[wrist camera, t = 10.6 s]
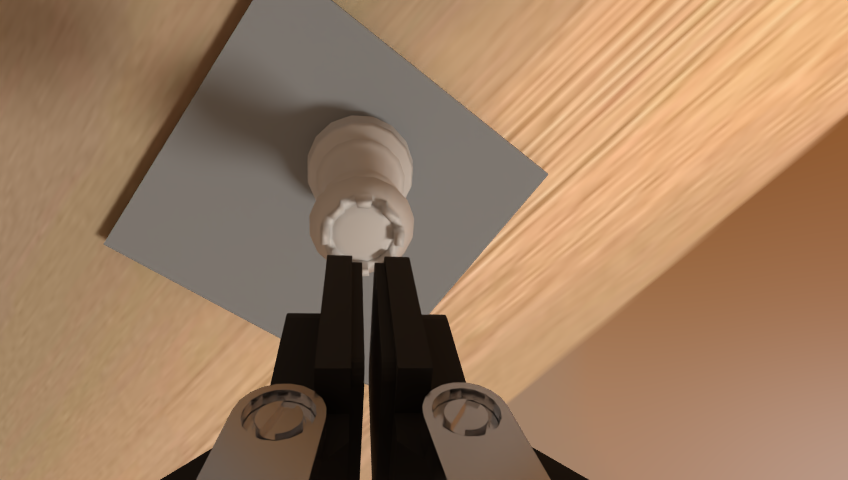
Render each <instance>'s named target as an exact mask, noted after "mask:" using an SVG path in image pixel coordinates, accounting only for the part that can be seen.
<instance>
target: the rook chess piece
mask: <svg viewBox="0 0 848 480" xmlns="http://www.w3.org/2000/svg"><path fill="white" fill-rule="evenodd" d="M412 163H413V160H412V157H411V154H410V151H409V148H408V145H407V142H406V141H405V140H404V138H403V137H402V136H401V135H400V134H399V133H398V132H397V131H396V130H395V128H394V127H393V126H391V125H389V124H387V123H385V122H383V121H381V120H379V119H377V118H375V117H371V116H354V115H351V116H348V117H345V118H342V119H340V120H337V121H334V122H331V123H330V124H329V125H328V126H327V127H326V128H325V129H324V130H323V131H321V132H320V133H319V134H318V135H317V136H316V137H315V140H314V142H313V144H312V147H311V149H310V151H309V153H308V184H309V186H310V188H311V191H312V193H313V195H314V197H315V200H316V202H315V204H314V206H313V208H312V211H311V213H310V215H309V230H310V237H311V239H312V241H313V243H314V245H315V248H316V250H317V252H318V253H319V254H320V255H321V256H322V257H324V258H325V259H326V260H327V255H350V256H352V262H362V276H369V273H371V272H374V263H383V262H384V257H385V256H388V257H401V256H402V255H403V254H404V253H405V251H406V249H407V247H408V245H409V243H410V242H411V240H412V238H413V228H414V216H413V214H412V211H411V208H410V205H409V203H408V200H407V199H406V196H407V194H408V192H409V190H410V188H411V186H412V174H413V165H412Z"/></svg>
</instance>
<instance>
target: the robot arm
mask: <svg viewBox="0 0 848 480" xmlns="http://www.w3.org/2000/svg"><path fill="white" fill-rule="evenodd" d="M364 375H365V354H364V315H363V277H362V262H352V256H350V255H327V261H326V270H325V279H324V287H323V296H322V305H321V313H287V315H286V318H285V323H284V327H283V331H282V336H281V340H280V345H279V349H278V354H277V358H276V363H275V367H274V372H273V376H272V381H271V385H270V386H265V387H262V388H259V389H257V390H255V391H252V392H250V393H249V394H247V395H246V396H245V397H243V398H242V399H241V400H239V402H238V403H237V404H236V406H235V407H234V408H233V410H232V411H231V413H230V415H229V417H228V419H227V421H226V423H225V425H224V427H223V429H222V431H221V433H220V435H219V437H218V438H217V440H216V442H215V444H214V446H213V448H212V449H210V450H209V451H207V452H205V453H204V454H202V455H200V456H199V457H197V458H195V459H194V460H192V461H190V462H189V463H187V464H186V465H184V466H182V467H181V468H179V469H177V470H176V471H174V472H172V473H171V474H169V475H167V476H166V477H164V478H162V479H161V480H360V460H361V439H362V419H363V399H364ZM369 407H370V436H371V465H372V480H588V479H586V478H585V477H583V476H581V475H579V474H578V473H576V472H574V471H573V470H571V469H569V468H567V467H566V466H564V465H562V464H560V463H559V462H557V461H555V460H553V459H552V458H550V457H548V456H546V455H545V454H543V453H541V452H540V451H538V450H536V449H534V448H532V447H531V445H530V443H529V442H528V440H527V438H526V437H525V435H524V433H523V431H522V430H521V428H520V426H519V424H518V423H517V421H516V419H515V418H514V416H513V414H512V412H511V411H510V409H509V407H508V406H507V404H506V403H505V402H504V401H503V400H502V398H501V397H500V396H498V395H497V394H495V393H494V392H492V391H491V390H489V389H487V388H484V387H482V386H479V385H475V384H470V383H466V381H465V378H464V374H463V371H462V368H461V364H460V361H459V357H458V354H457V351H456V347H455V344H454V340H453V337H452V333H451V330H450V327H449V323H448V320H447V317H446V315H425V314H421V309H420V304H419V300H418V295H417V290H416V286H415V281H414V276H413V272H412V267H411V262H410V258H409V257H388V256H385V257H384V262H383V263H374V276H373V295H372V314H371V333H370V352H369Z"/></svg>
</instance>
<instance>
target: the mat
mask: <svg viewBox="0 0 848 480" xmlns="http://www.w3.org/2000/svg"><path fill="white" fill-rule="evenodd" d="M351 115H354V116H371V117H375V118H377V119H379V120H381V121H383V122H385V123H387V124H389V125H391V126H393V127H394V128H395V130H396V131H397V132H398V133H399V134H400V135H401V136H402V137H403V138H404V140H405V141H406V142H407V145H408V148H409V151H410V154H411V157H412V160H413V163H412V165H413V174H412V186H411V188H410V190H409V192H408V194H407V196H406V199H407V200H408V203H409V205H410V208H411V211H412V214H413V216H414V228H413V238H412V240H411V242H410V243H409V245H408V247H407V249H406V251H405V253H404V254H403V255H402V256H401V257H409V258H410V262H411V267H412V272H413V276H414V281H415V286H416V290H417V295H418V300H419V304H420V309H421V314H425V315H429V313H430V312H431V311H432V310H433V309H434V308H435V306H436V305H437V304H438V303H439V302H440V301H441V299H442V298H443V297H444V296H445V295H446V294H447V292H448V291H449V290H450V289H451V288H452V287H453V285H454V284H455V283H456V282H457V281H458V280H459V278H460V277H461V276H462V275H463V274H464V273H465V271H466V270H467V269H468V268H469V267H470V266H471V264H472V263H473V262H474V261H475V260H476V259H477V257H478V256H479V255H480V254H481V253H482V251H483V250H484V249H485V248H486V247H487V246H488V244H489V243H490V242H491V241H492V240H493V239H494V237H495V236H496V235H497V234H498V233H499V232H500V230H501V229H502V228H503V227H504V226H505V225H506V223H507V222H508V221H509V220H510V219H511V218H512V216H513V215H514V214H515V213H516V212H517V211H518V209H519V208H520V207H521V206H522V205H523V204H524V202H525V201H526V200H527V199H528V198H529V197H530V195H531V194H532V193H533V192H534V191H535V190H536V188H537V187H538V186H539V185H540V184H541V182H542V181H543V180H544V179H545V178H546V177H547V175H548V173H546V172H545V171H544V170H543V169H542V168H540V167H539V166H538V165H537V164H535V163H534V162H533V161H532V160H530V159H529V158H528V157H527V156H525V155H524V154H523V153H522V152H520V151H519V150H518V149H517V148H515V147H514V146H513V145H512V144H510V143H509V142H508V141H507V140H505V139H504V138H503V137H502V136H500V135H499V134H498V133H497V132H495V131H494V130H493V129H492V128H490V127H489V126H488V125H487V124H485V123H484V122H483V121H482V120H480V119H479V118H478V117H477V116H475V115H474V114H473V113H472V112H470V111H469V110H468V109H467V108H465V107H464V106H463V105H462V104H460V103H459V102H458V101H457V100H455V99H454V98H453V97H452V96H450V95H449V94H448V93H447V92H445V91H444V90H443V89H442V88H441V87H439V86H438V85H437V84H436V83H434V82H433V81H432V80H431V79H429V78H428V77H427V76H426V75H424V74H423V73H422V72H421V71H419V70H418V69H417V68H416V67H414V66H413V65H412V64H411V63H409V62H408V61H407V60H406V59H404V58H403V57H402V56H401V55H399V54H398V53H397V52H396V51H394V50H393V49H392V48H391V47H389V46H388V45H387V44H386V43H384V42H383V41H382V40H381V39H379V38H378V37H377V36H376V35H374V34H373V33H372V32H371V31H369V30H368V29H367V28H366V27H364V26H363V25H362V24H361V23H359V22H358V21H357V20H356V19H354V18H353V17H352V16H351V15H349V14H348V13H347V12H346V11H344V10H343V9H342V8H341V7H339V6H338V5H337V4H336V3H334V2H333V1H332V0H253V1H252V2H251V4H250V6H249V7H248V9H247V11H246V12H245V14H244V16H243V17H242V19H241V20H240V22H239V24H238V25H237V27H236V29H235V30H234V32H233V33H232V35H231V37H230V38H229V40H228V42H227V43H226V45H225V47H224V48H223V50H222V51H221V53H220V55H219V56H218V58H217V60H216V61H215V63H214V65H213V66H212V68H211V69H210V71H209V73H208V74H207V76H206V78H205V79H204V81H203V82H202V84H201V86H200V87H199V89H198V91H197V92H196V94H195V96H194V97H193V99H192V100H191V102H190V104H189V105H188V107H187V109H186V110H185V112H184V113H183V115H182V117H181V118H180V120H179V122H178V123H177V125H176V127H175V128H174V130H173V131H172V133H171V135H170V136H169V138H168V140H167V141H166V143H165V144H164V146H163V148H162V149H161V151H160V153H159V154H158V156H157V158H156V159H155V161H154V162H153V164H152V166H151V167H150V169H149V171H148V172H147V174H146V176H145V177H144V179H143V180H142V182H141V184H140V185H139V187H138V189H137V190H136V192H135V193H134V195H133V197H132V198H131V200H130V202H129V203H128V205H127V207H126V208H125V210H124V211H123V213H122V215H121V216H120V218H119V220H118V221H117V223H116V224H115V226H114V228H113V229H112V231H111V233H110V234H109V236H108V238H107V239H106V241H105V242H104V245H106V246H108V247H110V248H111V249H113V250H115V251H117V252H119V253H121V254H123V255H125V256H126V257H128V258H130V259H132V260H134V261H136V262H138V263H140V264H141V265H143V266H145V267H147V268H149V269H151V270H153V271H155V272H157V273H158V274H160V275H162V276H164V277H166V278H168V279H170V280H172V281H173V282H175V283H177V284H179V285H181V286H183V287H185V288H187V289H188V290H190V291H192V292H194V293H196V294H198V295H200V296H202V297H203V298H205V299H207V300H209V301H211V302H213V303H215V304H217V305H218V306H220V307H222V308H224V309H226V310H228V311H230V312H232V313H234V314H235V315H237V316H239V317H241V318H243V319H245V320H247V321H249V322H250V323H252V324H254V325H256V326H258V327H260V328H262V329H264V330H265V331H267V332H269V333H271V334H273V335H275V336H277V337H279V338H280V339H281V336H282V331H283V327H284V323H285V318H286V315H287V313H321V305H322V296H323V287H324V279H325V270H326V261H327V260H326V259H325V258H324V257H322V256H321V255H320V254H319V253H318V252H317V250H316V248H315V245H314V243H313V241H312V239H311V237H310V230H309V215H310V213H311V211H312V208H313V206H314V204H315V202H316V200H315V197H314V195H313V193H312V191H311V188H310V186H309V184H308V153H309V151H310V149H311V147H312V144H313V142H314V140H315V137H316V136H317V135H318V134H319V133H320V132H321V131H323V130H324V129H325V128H326V127H327V126H328V125H329V124H330V123H331V122H334V121H337V120H340V119H342V118H345V117H348V116H351ZM373 276H374V272H371V273H369V276H362V277H363V315H364V354H365V375H364V383H365V384H367V385H369V352H370V333H371V314H372V295H373Z"/></svg>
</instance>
